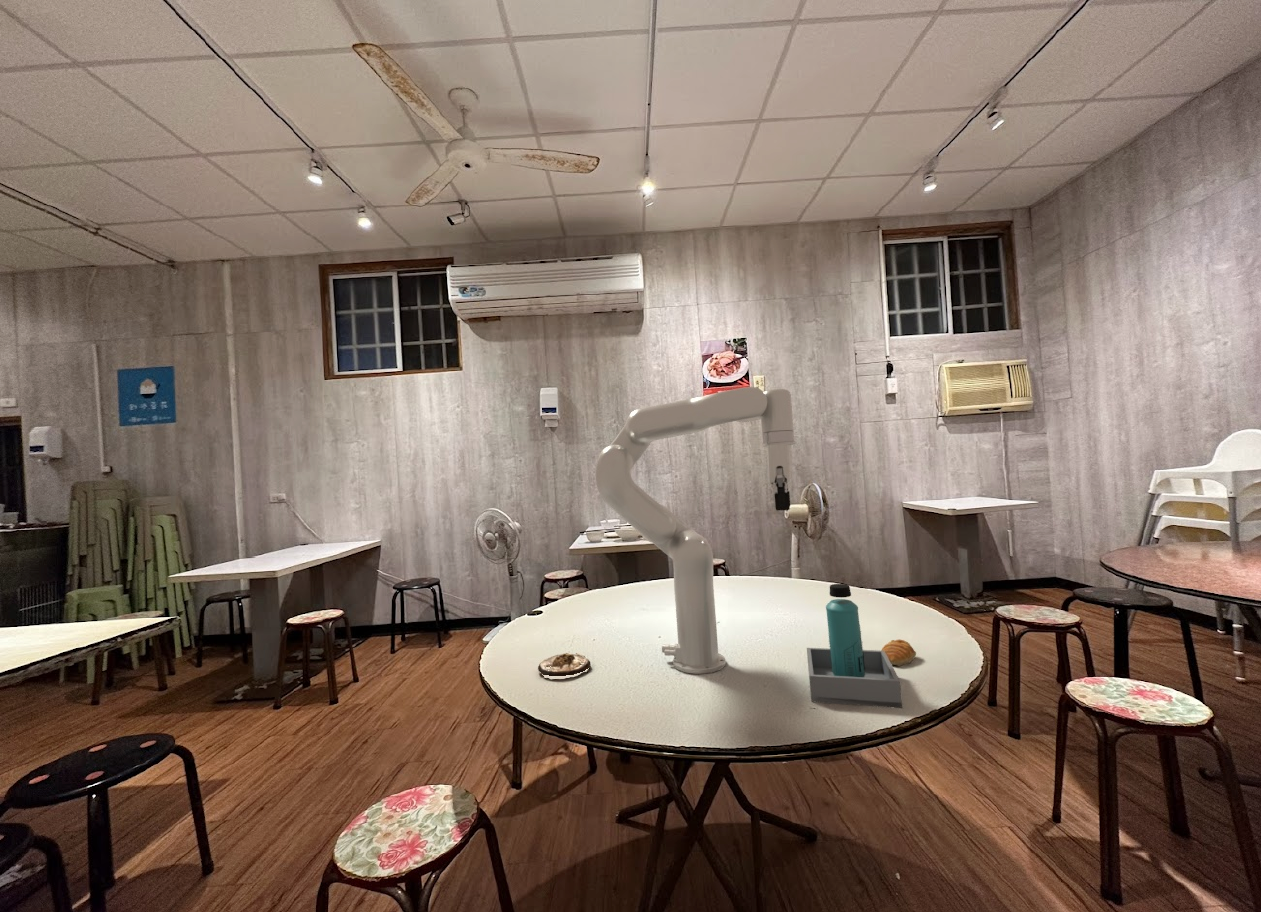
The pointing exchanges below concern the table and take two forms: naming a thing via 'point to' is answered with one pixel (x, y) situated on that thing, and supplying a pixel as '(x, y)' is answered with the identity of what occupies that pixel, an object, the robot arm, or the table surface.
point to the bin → (854, 681)
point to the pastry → (899, 652)
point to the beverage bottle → (844, 634)
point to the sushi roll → (564, 665)
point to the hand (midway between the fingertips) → (783, 508)
